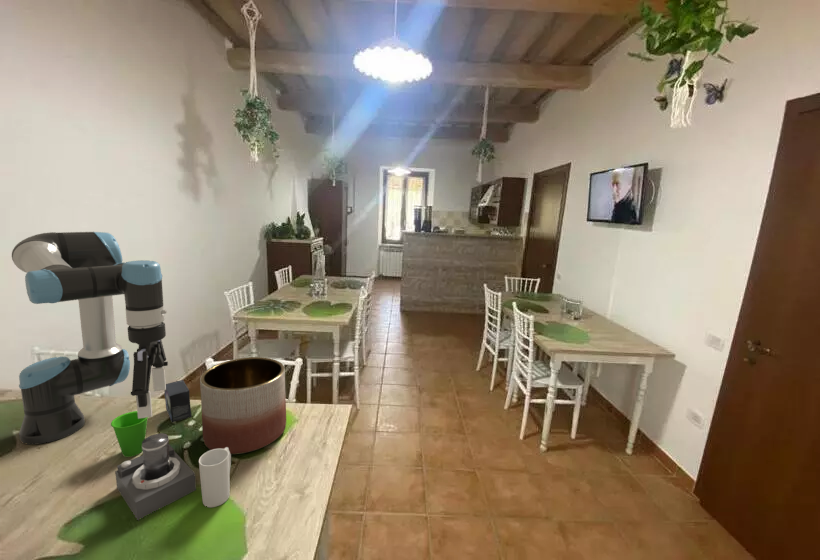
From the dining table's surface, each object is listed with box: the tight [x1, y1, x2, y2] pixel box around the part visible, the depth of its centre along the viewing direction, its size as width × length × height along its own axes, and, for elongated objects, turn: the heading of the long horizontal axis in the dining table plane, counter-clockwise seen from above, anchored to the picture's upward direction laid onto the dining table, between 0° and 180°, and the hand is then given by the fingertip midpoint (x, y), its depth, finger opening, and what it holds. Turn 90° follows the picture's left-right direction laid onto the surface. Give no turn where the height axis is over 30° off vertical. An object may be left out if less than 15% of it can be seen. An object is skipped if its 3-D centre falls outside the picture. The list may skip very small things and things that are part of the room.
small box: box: [163, 379, 192, 423], centre depth 130 cm, size 11×6×10 cm, turn 43°
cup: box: [110, 410, 149, 458], centre depth 109 cm, size 9×9×11 cm
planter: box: [199, 356, 287, 455], centre depth 120 cm, size 25×25×22 cm
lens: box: [142, 432, 170, 481], centre depth 94 cm, size 6×6×10 cm
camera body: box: [114, 444, 197, 521], centre depth 95 cm, size 16×13×7 cm
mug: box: [198, 447, 232, 508], centre depth 95 cm, size 10×7×12 cm, turn 174°
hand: (153, 402), depth 93 cm, fingers open, 13 cm apart
